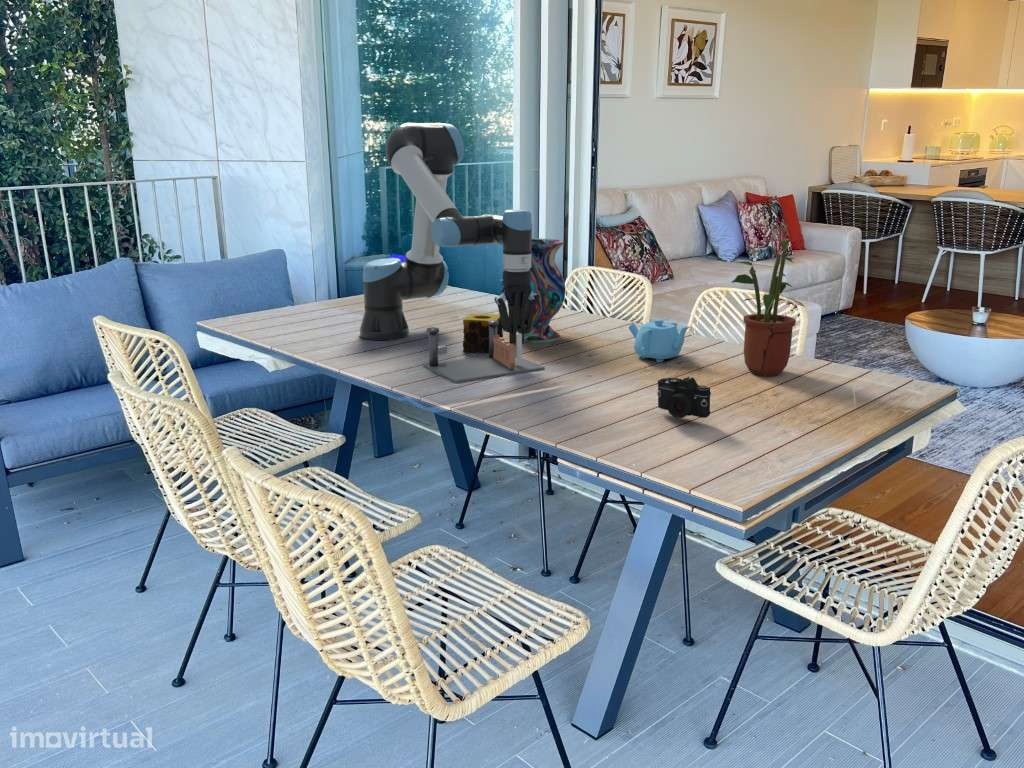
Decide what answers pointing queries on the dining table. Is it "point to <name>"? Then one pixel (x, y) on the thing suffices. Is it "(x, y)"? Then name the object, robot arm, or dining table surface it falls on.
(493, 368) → the mat
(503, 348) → the gate
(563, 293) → the vase
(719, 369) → the dining table surface
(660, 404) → the film camera
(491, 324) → the glossy grey waisted cylinder
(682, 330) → the teapot
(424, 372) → the dining table surface
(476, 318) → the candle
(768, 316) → the potted plant
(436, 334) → the latch post
